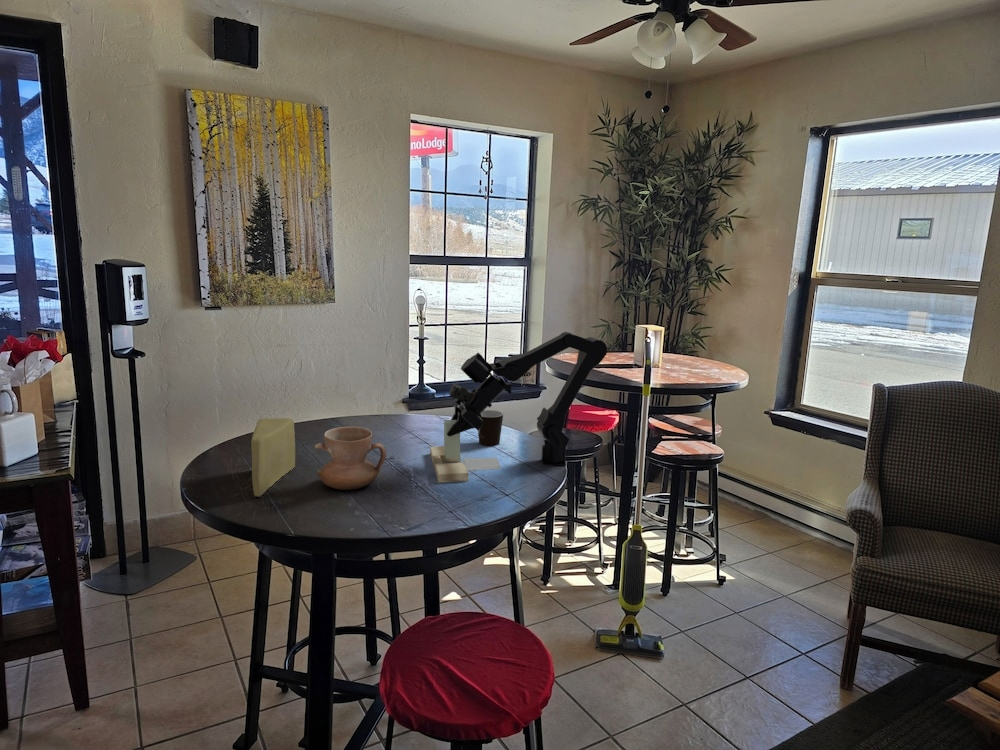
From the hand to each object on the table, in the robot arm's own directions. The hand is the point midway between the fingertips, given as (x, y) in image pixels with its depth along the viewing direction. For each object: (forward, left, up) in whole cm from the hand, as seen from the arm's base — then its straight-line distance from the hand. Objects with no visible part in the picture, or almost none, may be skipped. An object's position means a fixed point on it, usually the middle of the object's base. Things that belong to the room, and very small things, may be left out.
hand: (447, 433), depth 181 cm
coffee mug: (-11, -25, -10) cm, 29 cm away
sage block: (-1, 0, -7) cm, 7 cm away
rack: (-1, 0, -10) cm, 10 cm away
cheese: (+45, +16, -10) cm, 49 cm away
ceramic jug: (+23, +15, -10) cm, 30 cm away
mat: (-10, -3, -10) cm, 14 cm away
